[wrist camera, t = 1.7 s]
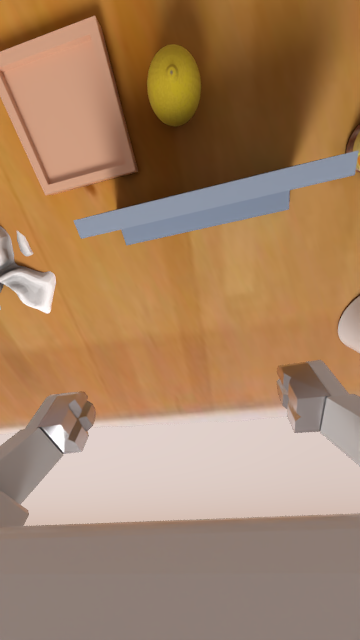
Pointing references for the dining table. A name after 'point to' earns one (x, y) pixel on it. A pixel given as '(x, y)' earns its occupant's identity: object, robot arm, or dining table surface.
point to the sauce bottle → (355, 145)
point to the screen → (216, 202)
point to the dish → (67, 107)
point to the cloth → (25, 275)
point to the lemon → (174, 85)
